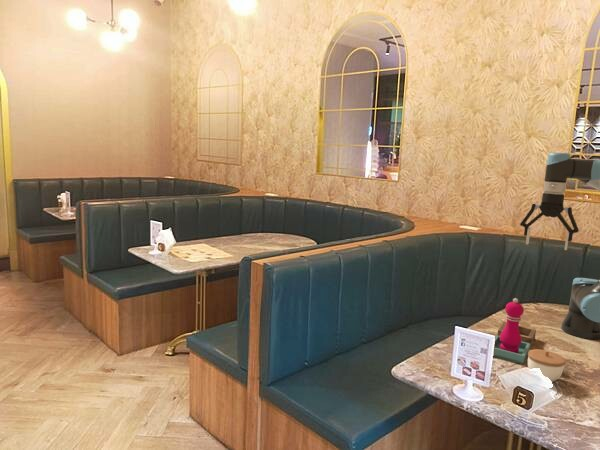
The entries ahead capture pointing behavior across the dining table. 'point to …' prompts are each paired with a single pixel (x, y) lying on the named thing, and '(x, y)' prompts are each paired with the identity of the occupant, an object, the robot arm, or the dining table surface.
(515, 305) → the pepper mill
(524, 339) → the walnut holder
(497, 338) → the teal tray
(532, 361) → the lidded jar
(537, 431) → the dining table surface
